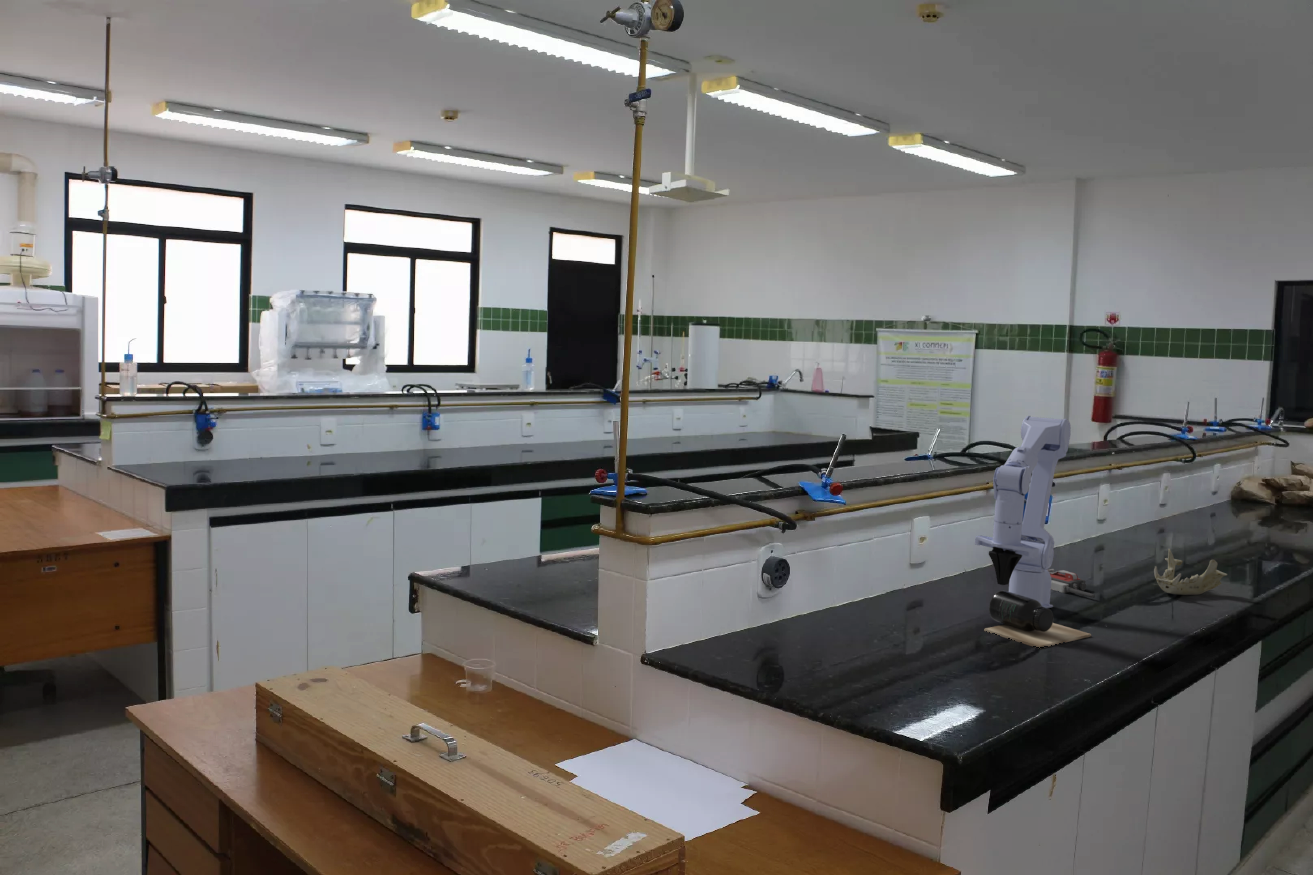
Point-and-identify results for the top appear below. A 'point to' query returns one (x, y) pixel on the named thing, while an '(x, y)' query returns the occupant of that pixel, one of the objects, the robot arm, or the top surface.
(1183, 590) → the mandible
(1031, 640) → the tan paper sheet
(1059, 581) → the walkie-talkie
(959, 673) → the top surface
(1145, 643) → the top surface
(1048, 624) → the supplement bottle
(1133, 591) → the top surface
